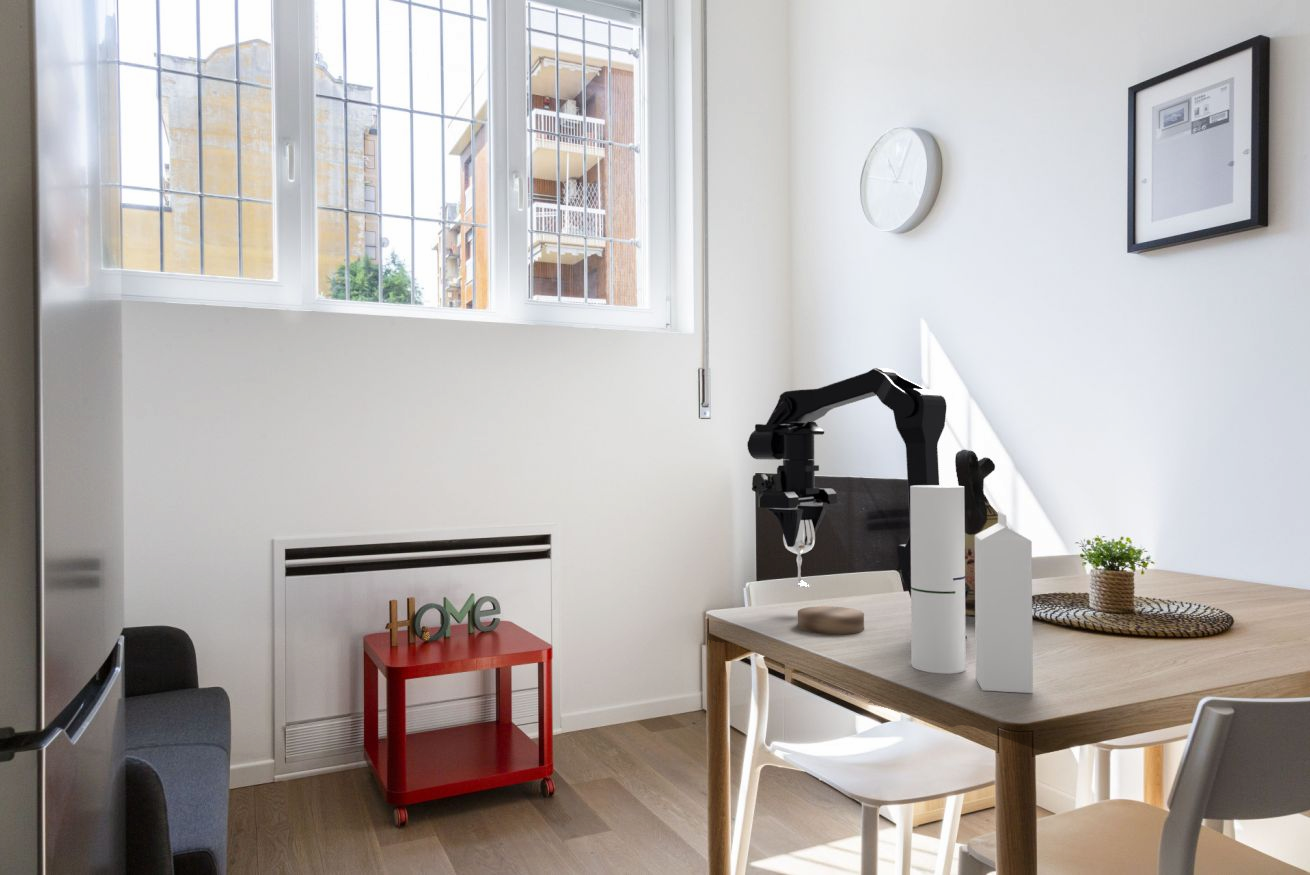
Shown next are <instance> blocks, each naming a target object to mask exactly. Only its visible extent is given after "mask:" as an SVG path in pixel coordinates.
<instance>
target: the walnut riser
mask: <svg viewBox="0 0 1310 875" xmlns="http://www.w3.org/2000/svg"><path fill="white" fill-rule="evenodd" d="M797 628H798V629H800V630H802V631H803V632H808V633H814V634H819V635H820V634H822V635H850V634H851V633H852V634H857V633H861V632H863V631H864V630H865V612H863V611H862V610H860V609H859V610H858V609H856V608H850V607H844V606H843V607H842V606H824V605H823V606H820V605H819V606H808V607H803V608H800V609H798V610H797Z"/></svg>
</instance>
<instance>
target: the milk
mask: <svg viewBox="0 0 1310 875" xmlns="http://www.w3.org/2000/svg"><path fill="white" fill-rule="evenodd" d="M997 513H998V523H997V524H995V525H993V526H991V527H989V528H987V529H986V530H984V531H982V532H980V533H978V534H976V535H975V615H974V616H975V617H974V622H975V625H974V626H975V628H974V629H975V634H974V635H975V638H974V639H975V640H974V641H975V648H974V649H975V651H974V652H975V679H976V681H977V683H978V685H979V688H980V689H981V691H985V692H986V691H987V692H1002V693H1006V692H1007V693H1019V694H1020V693H1021V694H1033V693H1034V683H1033V682H1034V673H1033V672H1034V670H1033V668H1034V667H1033V666H1034V665H1033V663H1034V662H1033V657H1034V656H1033V570H1032V569H1033V567H1032V566H1033V561H1032V559H1033V558H1032V557H1033V553H1032V551H1033V550H1032V549H1033V547H1032V543H1033V542H1032V540H1030V539H1029V538H1027V537H1025V536H1023V535H1022V534H1019V533H1018V532H1016V531H1015V530H1013V529H1011V528H1009V527H1008V525H1007V514H1005V513H1003V512H1001V511H997ZM1006 525H1007V526H1006Z"/></svg>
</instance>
